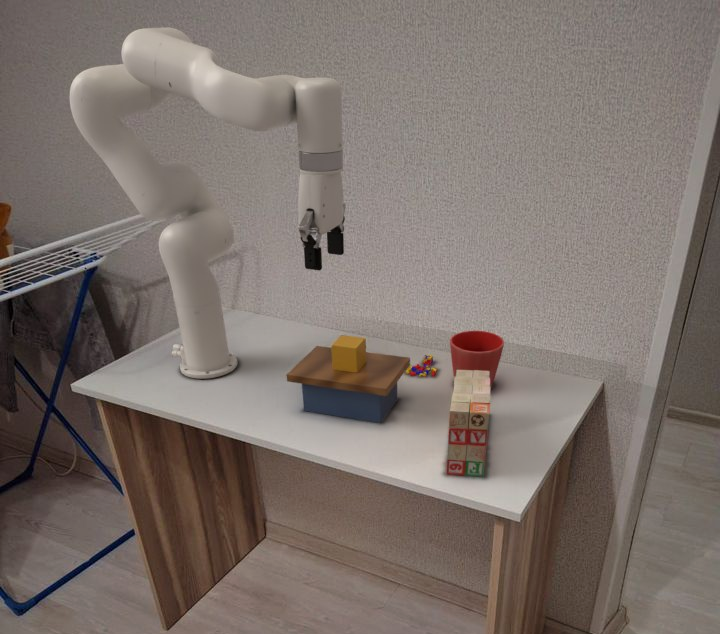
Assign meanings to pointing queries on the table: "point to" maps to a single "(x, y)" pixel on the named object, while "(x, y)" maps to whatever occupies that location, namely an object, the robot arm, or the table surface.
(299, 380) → the wooden board
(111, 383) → the table surface
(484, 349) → the flower pot
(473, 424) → the stack of blocks
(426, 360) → the building blocks
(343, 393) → the blue box
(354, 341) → the mustard block
